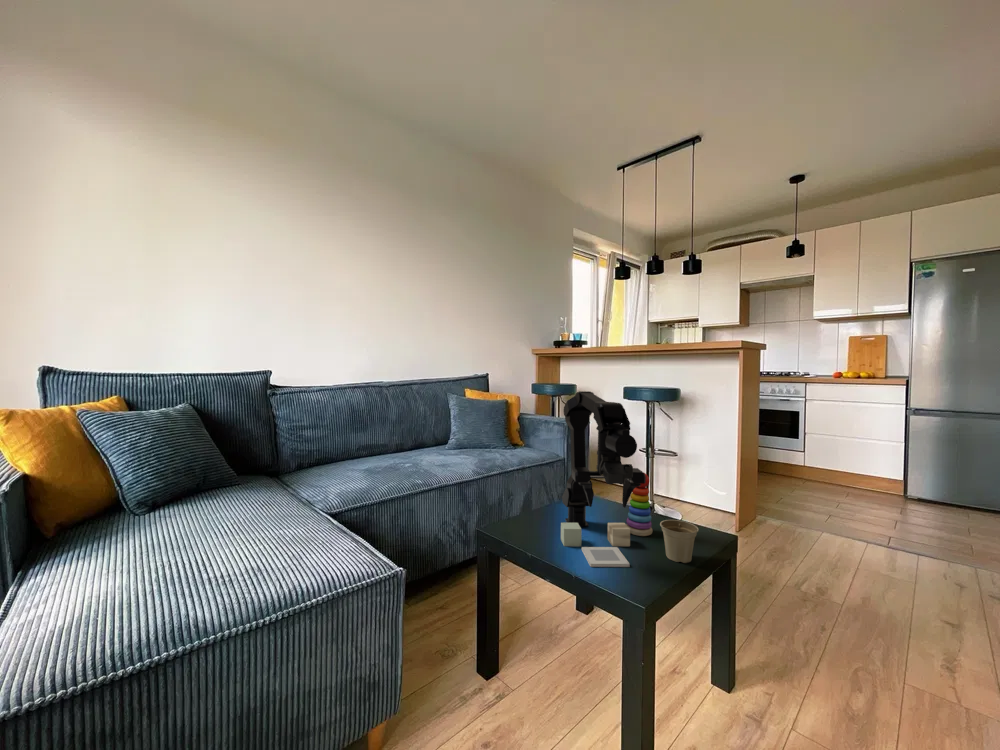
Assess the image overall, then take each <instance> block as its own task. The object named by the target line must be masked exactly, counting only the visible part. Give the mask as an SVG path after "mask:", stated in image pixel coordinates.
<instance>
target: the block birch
mask: <svg viewBox="0 0 1000 750" xmlns="http://www.w3.org/2000/svg"><path fill="white" fill-rule="evenodd" d="M607 541H608V542H609V544H610V545H611V547H630V546H631V533H630V528H629V527H628V526H627V523H625V522H607Z"/></svg>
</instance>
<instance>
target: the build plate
mask: <svg viewBox="0 0 1000 750" xmlns="http://www.w3.org/2000/svg"><path fill="white" fill-rule="evenodd" d="M581 551H582V553H583V556H584V557H585V559H586V561H587V563H588V565H589V566H590V568H598V567H599V568H630V567H631V566H630V565H631V563H630V562H629V561H628V560H627V558H626V557H625V555H624V554H623V553H622V552H621V550H620V549H619V547H618V546H581Z"/></svg>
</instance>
